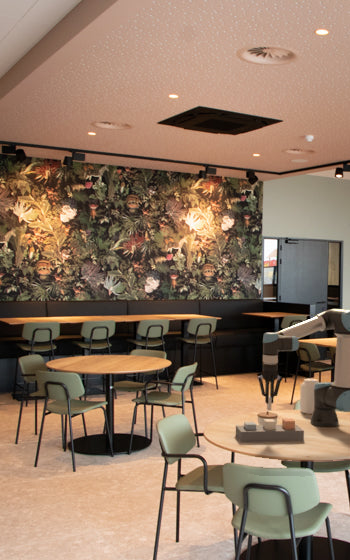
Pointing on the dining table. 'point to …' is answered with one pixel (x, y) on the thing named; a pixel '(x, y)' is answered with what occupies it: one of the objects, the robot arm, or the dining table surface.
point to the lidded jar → (266, 416)
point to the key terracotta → (288, 424)
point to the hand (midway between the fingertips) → (269, 409)
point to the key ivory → (269, 424)
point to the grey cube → (249, 426)
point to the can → (307, 395)
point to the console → (269, 434)
